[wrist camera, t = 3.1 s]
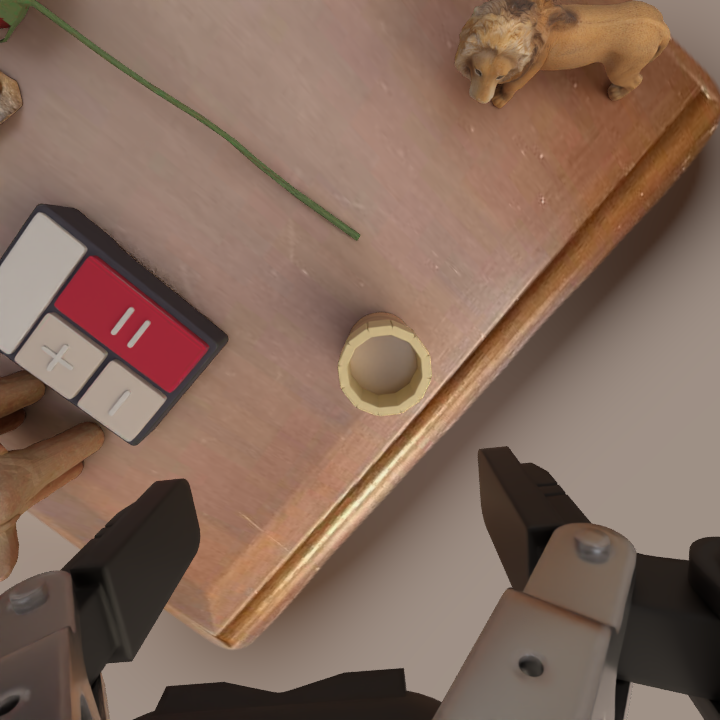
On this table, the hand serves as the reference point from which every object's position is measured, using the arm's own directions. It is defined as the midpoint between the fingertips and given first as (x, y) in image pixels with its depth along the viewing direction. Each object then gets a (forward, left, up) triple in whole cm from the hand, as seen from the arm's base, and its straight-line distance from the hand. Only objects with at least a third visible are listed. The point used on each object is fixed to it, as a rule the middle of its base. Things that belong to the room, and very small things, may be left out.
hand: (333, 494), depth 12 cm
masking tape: (+2, -1, -17) cm, 17 cm away
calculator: (-19, +3, -23) cm, 30 cm away
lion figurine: (+15, +17, -23) cm, 32 cm away
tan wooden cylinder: (+2, -1, -23) cm, 23 cm away
